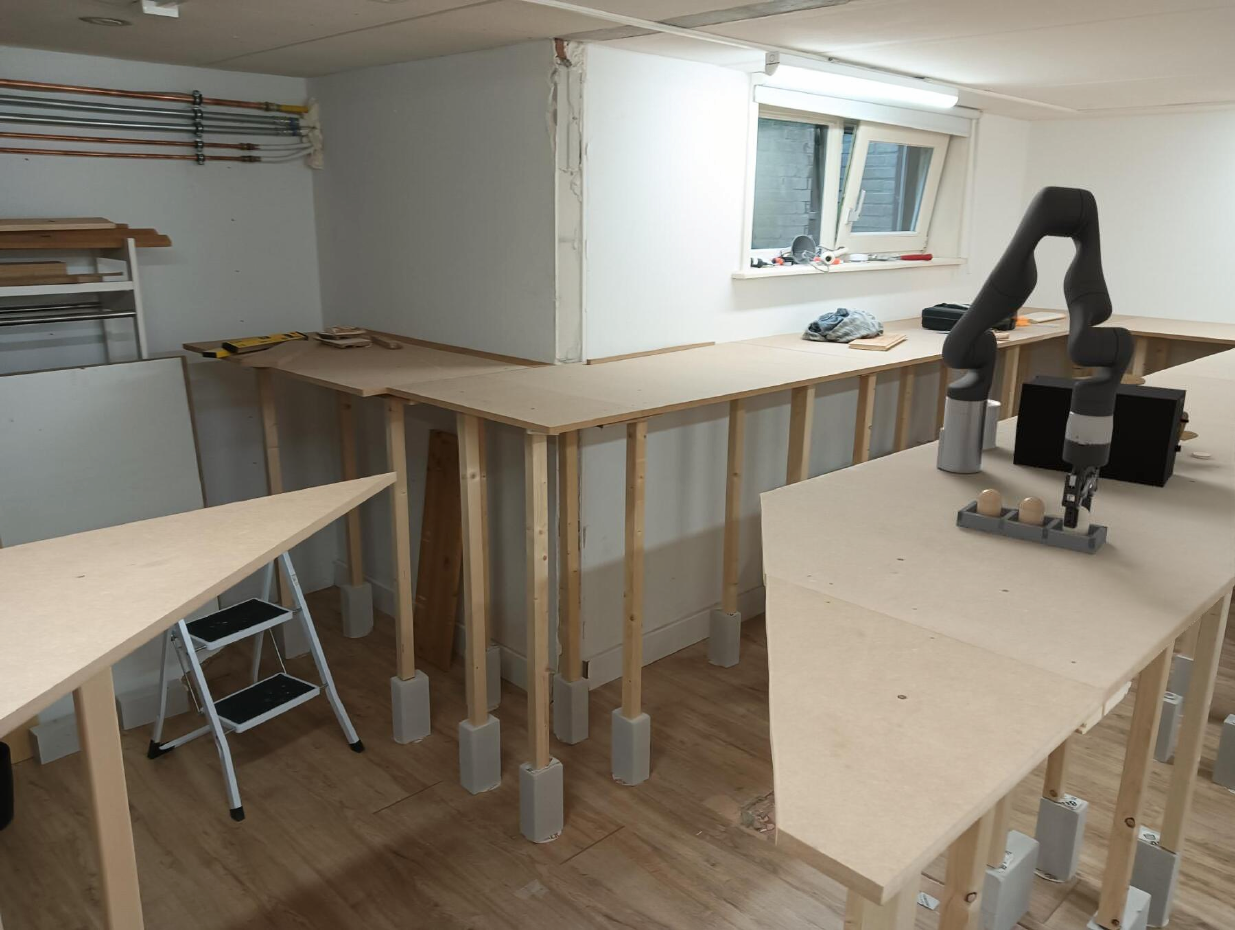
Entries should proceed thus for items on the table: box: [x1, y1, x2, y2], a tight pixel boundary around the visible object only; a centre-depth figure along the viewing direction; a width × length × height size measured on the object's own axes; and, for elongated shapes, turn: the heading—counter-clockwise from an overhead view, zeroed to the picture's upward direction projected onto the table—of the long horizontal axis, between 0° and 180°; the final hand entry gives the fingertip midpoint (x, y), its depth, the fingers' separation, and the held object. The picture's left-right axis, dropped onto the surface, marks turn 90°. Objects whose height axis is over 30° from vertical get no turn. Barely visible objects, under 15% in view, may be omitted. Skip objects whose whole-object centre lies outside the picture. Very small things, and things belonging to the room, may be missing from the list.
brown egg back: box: [977, 488, 1003, 518], centre depth 186 cm, size 4×4×6 cm
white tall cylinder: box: [983, 399, 1002, 451], centre depth 244 cm, size 10×9×20 cm
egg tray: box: [956, 500, 1109, 555], centre depth 181 cm, size 25×9×3 cm, turn 50°
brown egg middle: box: [1018, 496, 1046, 527], centre depth 181 cm, size 4×4×6 cm
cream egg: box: [1062, 506, 1091, 537], centre depth 176 cm, size 4×4×6 cm
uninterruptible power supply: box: [1012, 374, 1190, 488], centre depth 222 cm, size 16×34×20 cm, turn 53°
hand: (1076, 521), depth 176 cm, fingers open, 8 cm apart
